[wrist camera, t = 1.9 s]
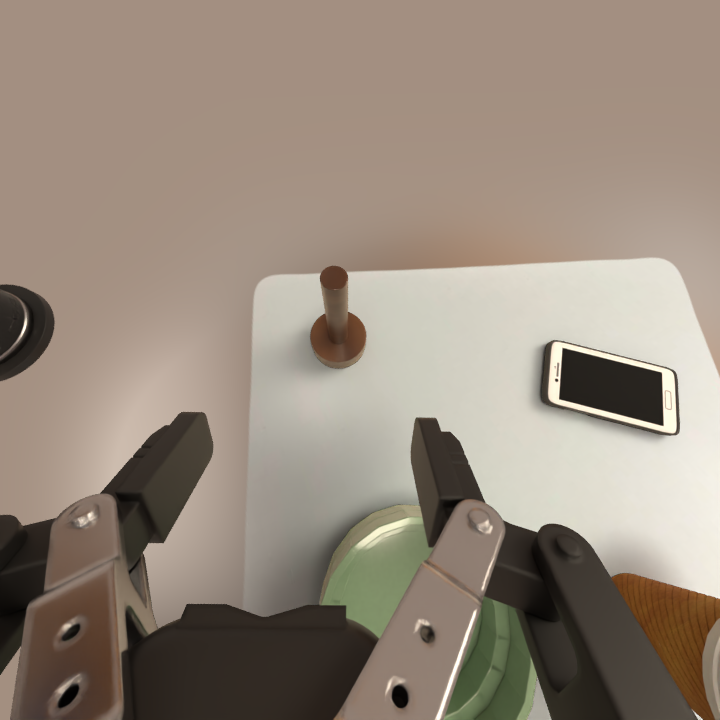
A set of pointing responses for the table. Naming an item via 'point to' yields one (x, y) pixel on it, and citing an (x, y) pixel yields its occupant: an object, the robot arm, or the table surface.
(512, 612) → the mixing bowl
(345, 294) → the wooden rod on disc
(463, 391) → the table surface
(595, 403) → the cell phone
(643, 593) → the disposable coffee cup
